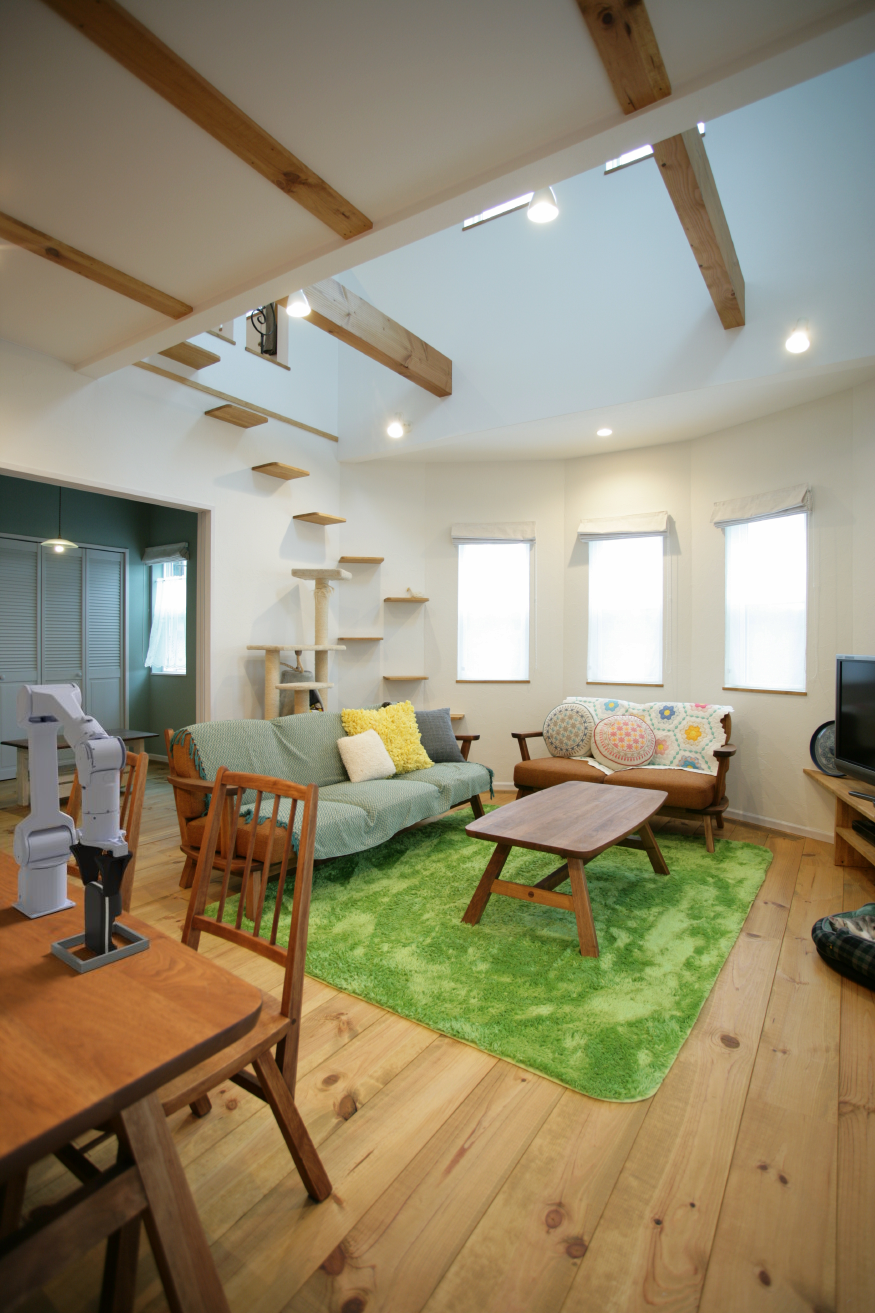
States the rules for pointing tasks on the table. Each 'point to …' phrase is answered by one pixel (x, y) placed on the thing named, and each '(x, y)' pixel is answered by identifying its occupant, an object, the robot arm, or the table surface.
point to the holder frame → (80, 966)
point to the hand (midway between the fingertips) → (100, 889)
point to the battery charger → (100, 918)
